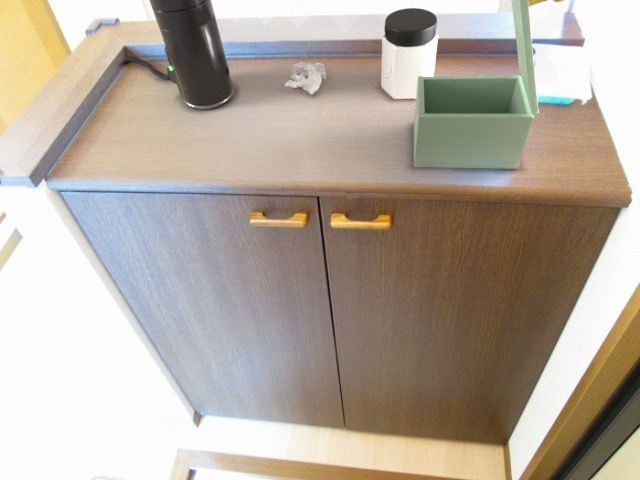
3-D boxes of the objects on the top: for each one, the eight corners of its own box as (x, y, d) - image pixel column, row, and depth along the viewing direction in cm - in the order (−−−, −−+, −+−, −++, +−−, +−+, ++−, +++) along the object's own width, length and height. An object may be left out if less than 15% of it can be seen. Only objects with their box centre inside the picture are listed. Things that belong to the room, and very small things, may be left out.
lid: (519, -3, 49) (574, -21, 47) (506, -39, 55) (554, -57, 53) (531, 115, 59) (577, 103, 57) (519, 73, 66) (560, 61, 64)
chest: (414, 167, 68) (418, 116, 62) (413, 125, 75) (417, 76, 68) (517, 169, 66) (534, 117, 59) (508, 126, 72) (522, 75, 66)
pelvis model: (291, 54, 85) (326, 51, 84) (296, 75, 89) (330, 73, 87) (282, 77, 80) (319, 74, 79) (287, 98, 83) (323, 96, 82)
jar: (373, 82, 84) (374, 15, 75) (412, 69, 86) (417, 2, 76) (399, 106, 78) (403, 37, 69) (440, 92, 80) (449, 22, 71)
